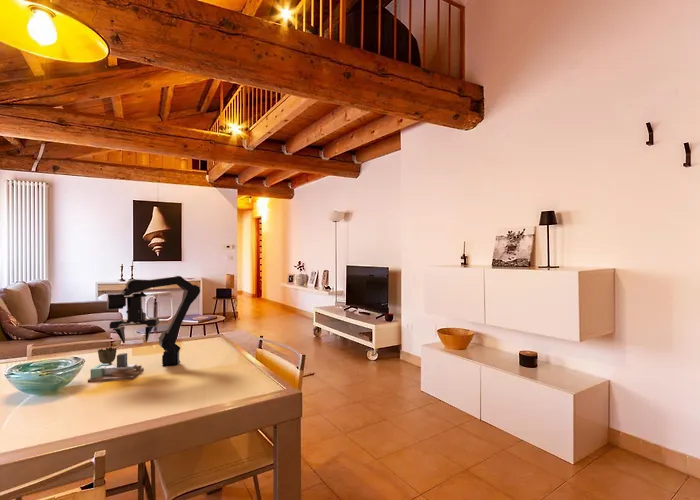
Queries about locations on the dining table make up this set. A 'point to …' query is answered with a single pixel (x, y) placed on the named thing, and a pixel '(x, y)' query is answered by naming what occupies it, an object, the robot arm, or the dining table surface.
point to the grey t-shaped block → (118, 365)
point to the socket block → (97, 371)
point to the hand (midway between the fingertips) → (135, 342)
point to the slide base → (119, 375)
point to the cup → (107, 355)
